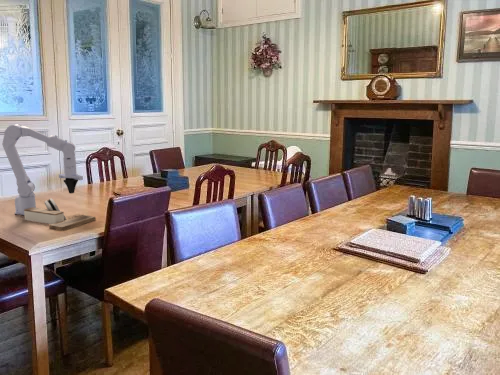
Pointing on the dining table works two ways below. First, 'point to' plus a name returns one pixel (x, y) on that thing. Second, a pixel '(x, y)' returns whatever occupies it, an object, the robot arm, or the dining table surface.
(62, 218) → the cabinet
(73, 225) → the door leaf
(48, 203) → the hinge
